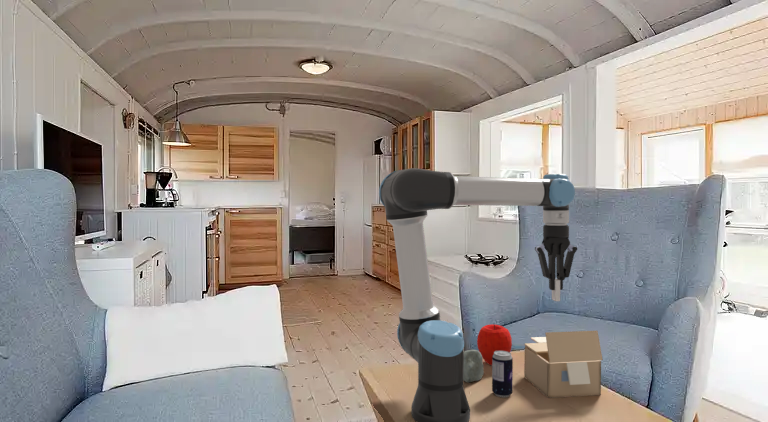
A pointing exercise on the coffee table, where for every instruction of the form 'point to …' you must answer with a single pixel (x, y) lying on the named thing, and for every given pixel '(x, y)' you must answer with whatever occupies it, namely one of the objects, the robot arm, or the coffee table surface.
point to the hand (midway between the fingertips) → (555, 300)
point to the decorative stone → (472, 366)
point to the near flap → (574, 352)
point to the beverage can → (502, 373)
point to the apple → (493, 341)
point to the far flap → (538, 345)
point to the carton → (559, 376)
